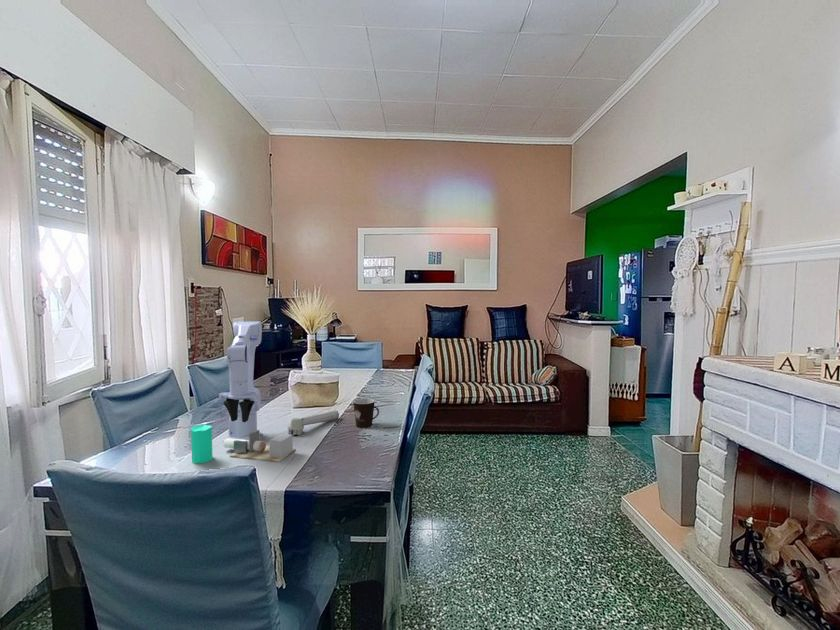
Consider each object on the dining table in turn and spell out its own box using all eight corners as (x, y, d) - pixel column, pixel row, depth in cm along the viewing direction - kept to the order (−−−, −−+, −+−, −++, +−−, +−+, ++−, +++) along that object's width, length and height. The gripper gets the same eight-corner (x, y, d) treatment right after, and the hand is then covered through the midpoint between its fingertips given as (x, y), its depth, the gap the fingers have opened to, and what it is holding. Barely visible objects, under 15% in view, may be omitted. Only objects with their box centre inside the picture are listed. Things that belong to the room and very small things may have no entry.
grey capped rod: (340, 410, 173) (295, 418, 151) (339, 426, 172) (293, 436, 151) (331, 409, 175) (285, 415, 154) (330, 424, 175) (284, 433, 153)
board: (229, 456, 133) (229, 455, 133) (249, 445, 143) (249, 444, 143) (278, 462, 129) (278, 460, 129) (295, 450, 138) (295, 448, 138)
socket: (269, 456, 131) (269, 440, 131) (281, 449, 138) (280, 433, 137) (281, 458, 130) (281, 441, 130) (292, 450, 137) (292, 434, 136)
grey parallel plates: (233, 452, 135) (233, 441, 135) (245, 446, 141) (245, 435, 140) (245, 454, 134) (245, 442, 134) (256, 447, 140) (256, 436, 139)
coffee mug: (350, 424, 166) (350, 399, 166) (370, 421, 170) (370, 397, 170) (359, 432, 156) (359, 406, 156) (380, 429, 160) (380, 404, 160)
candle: (189, 459, 131) (188, 422, 130) (209, 454, 135) (208, 418, 134) (194, 465, 126) (193, 427, 126) (215, 459, 131) (214, 422, 130)
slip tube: (223, 449, 137) (222, 431, 137) (231, 445, 141) (230, 427, 141) (259, 453, 134) (259, 434, 133) (266, 449, 138) (266, 430, 137)
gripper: (211, 382, 134) (212, 423, 135) (250, 384, 131) (251, 426, 131) (226, 378, 141) (227, 417, 142) (263, 380, 138) (264, 419, 138)
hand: (239, 421), depth 137 cm, fingers open, 4 cm apart
